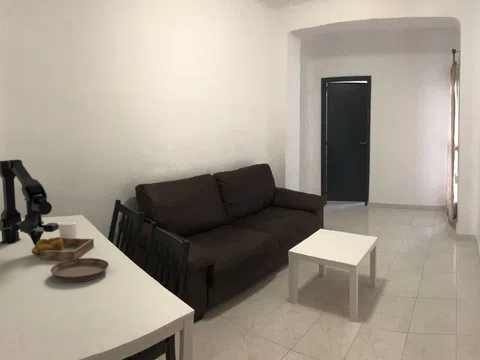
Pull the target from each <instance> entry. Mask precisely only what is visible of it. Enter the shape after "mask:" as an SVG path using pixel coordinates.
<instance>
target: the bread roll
mask: <svg viewBox="0 0 480 360" xmlns="http://www.w3.org/2000/svg"><path fill="white" fill-rule="evenodd" d="M41 250H49V251H64V247H63V239H62V238H61V237H60V236H57V237H50V238H40V240H39V241H38V242H37V243H36V246H35V245H34V246H33V248H32V249H31V253H32V255H33V256H39V257H40V251H41Z"/></svg>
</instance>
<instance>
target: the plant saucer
mask: <svg viewBox="0 0 480 360" xmlns="http://www.w3.org/2000/svg"><path fill="white" fill-rule="evenodd" d="M109 265H110V264H109V262H108V261H107V260H104V259H100V258H95V257H84V258H83V257H80V258H79V259H73V260H68V261H60V262H58V263H57V264H55V265H53V266H52V267H51V268H50V273H51V274H52V275H53V277H55V278H56V279H57V280H60V281H63V282H67V283H77V282H79V283H80V282H86V281H90V280H93V279H96V278H98V277H100V276H102V275H103V274H104V273H105V272H106V271H107V269H108V267H109Z"/></svg>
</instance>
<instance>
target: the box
mask: <svg viewBox="0 0 480 360" xmlns="http://www.w3.org/2000/svg"><path fill="white" fill-rule="evenodd" d="M62 239H63V248H76V249H74V250H62V251H49V250H41V251H40V255H39V261H54V262H55V261H57V262H64V261H68V260H73V259H81V258H82V257H83V256H84V255H86V254H87V253H88V252H89V251H90V250H92V249H93V248H95V244H94V238H77V237H76V238H62Z"/></svg>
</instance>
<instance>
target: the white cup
mask: <svg viewBox="0 0 480 360" xmlns="http://www.w3.org/2000/svg"><path fill="white" fill-rule="evenodd" d="M57 224H58V225H59V229H58V234H59V237H61V238H77V221H75V220H65V221H60V222H57Z"/></svg>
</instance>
